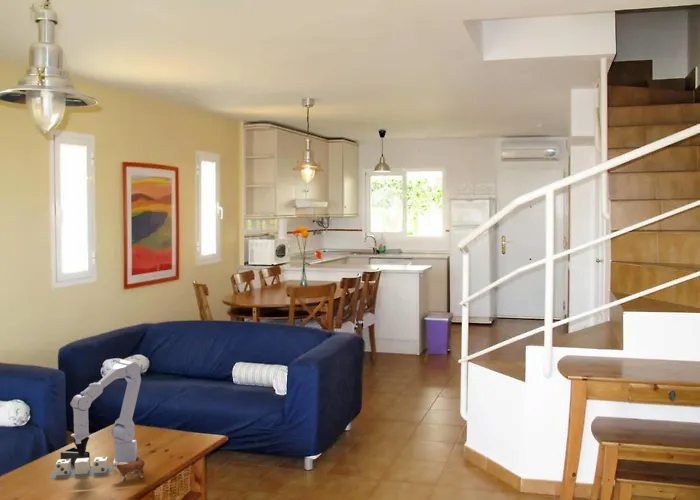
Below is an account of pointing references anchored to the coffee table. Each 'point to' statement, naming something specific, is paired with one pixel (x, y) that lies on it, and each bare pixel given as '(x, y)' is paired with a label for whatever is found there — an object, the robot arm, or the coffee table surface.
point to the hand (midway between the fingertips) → (81, 455)
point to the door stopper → (73, 455)
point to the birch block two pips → (100, 464)
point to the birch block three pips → (63, 467)
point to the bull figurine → (129, 468)
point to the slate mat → (72, 474)
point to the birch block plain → (82, 466)
